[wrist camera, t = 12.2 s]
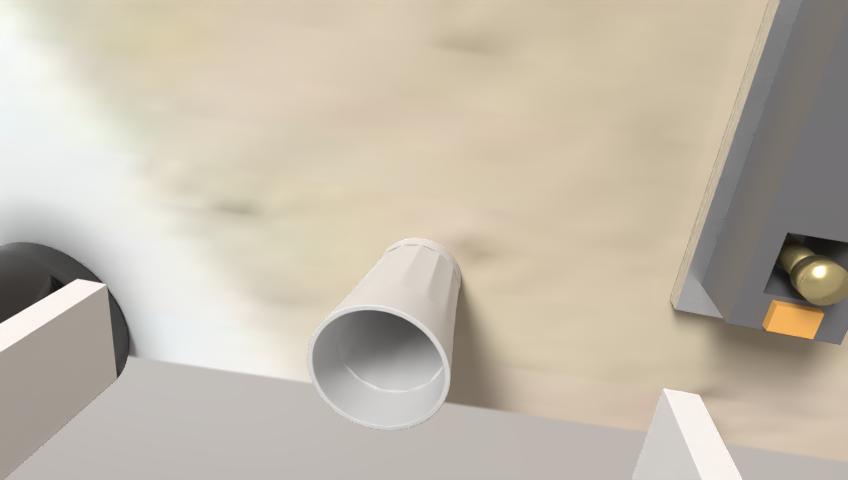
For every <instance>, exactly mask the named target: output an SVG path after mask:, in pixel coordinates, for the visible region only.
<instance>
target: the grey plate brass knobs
mask: <svg viewBox="0 0 848 480" xmlns="http://www.w3.org/2000/svg"><path fill="white" fill-rule="evenodd" d="M801 2H802V0H769V2H768V5H767V8H766V11H765V14H764V17H763V20H762V23H761V26H760V29H759V32H758V35H757V38H756V41H755V44H754V47H753V50H752V53H751V56H750V59H749V62H748V65H747V68H746V71H745V74H744V77H743V80H742V83H741V86H740V89H739V92H738V95H737V98H736V101H735V104H734V107H733V110H732V113H731V116H730V120H729V123H728V126H727V129H726V132H725V135H724V138H723V141H722V144H721V147H720V150H719V153H718V156H717V159H716V162H715V165H714V168H713V171H712V174H711V177H710V180H709V183H708V186H707V189H706V192H705V195H704V198H703V201H702V204H701V207H700V210H699V213H698V216H697V219H696V222H695V225H694V228H693V231H692V234H691V237H690V240H689V243H688V246H687V249H686V252H685V255H684V258H683V261H682V264H681V267H680V270H679V273H678V276H677V279H676V282H675V285H674V288H673V291H672V294H671V297H670V300H671V302H672V304H673V306H674V308H675V309H676V310H681V311H686V312H692V313H697V314H702V315H708V316H713V317H718V318H723V317H722V316H721V314H720V313H719V311H718V309H717V308H716V306H715V305H714V303H713V302H712V300H711V299H710V297H709V296H708V294H707V293H706V291H705V290H704V288H703V287H702V282H703V279H704V276H705V273H706V271H707V268H708V265H709V262H710V259H711V256H712V254H713V251H714V248H715V245H716V242H717V239H718V237H719V234H720V231H721V228H722V225H723V222H724V220H725V217H726V214H727V211H728V208H729V205H730V203H731V200H732V197H733V194H734V191H735V188H736V186H737V183H738V180H739V177H740V174H741V171H742V169H743V166H744V163H745V160H746V157H747V154H748V152H749V149H750V146H751V143H752V140H753V137H754V135H755V132H756V129H757V126H758V123H759V120H760V118H761V115H762V112H763V109H764V106H765V103H766V101H767V98H768V95H769V92H770V89H771V87H772V84H773V81H774V78H775V75H776V72H777V70H778V67H779V64H780V61H781V58H782V55H783V53H784V50H785V47H786V44H787V41H788V38H789V36H790V33H791V30H792V27H793V24H794V21H795V19H796V16H797V13H798V10H799V7H800V4H801ZM805 237H806V235H801V234H795V233H789V232H787V235H786V237H785V240H784V242H783V245H782V247H781V250H780V252H779V255H778V257H777V260H776V262H775V265H777V266H782V267H783V268H784V269H785V270H786V271H787V272H788V273H789V274H790V281H791V283H792V285H793V286H794V287H795V288H796V289H797V290H798V291H799V292H800V293H801V294H802V295H803V296H804V297H805V298H806V299H807V300H808V301H809V302H811V303H813V304H815V305H821V306H825V305H832V304H835V303H837V302H839V301H841V300H842V299H844V298H845V297H846V296H847V295H848V272H847V271H846V270H845V269H844V268H842V267H841V266H840V265H838V264H837V263H836V262H835V261H833V260H832V259H831V258H829V257H827V256H824V255H816V254H814V253H813V252H812V251H811V250H809V249H808V248H807V247H806V246H804V245H803V242H804V240H805Z"/></svg>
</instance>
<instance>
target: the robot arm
mask: <svg viewBox="0 0 848 480" xmlns="http://www.w3.org/2000/svg"><path fill="white" fill-rule="evenodd" d="M128 347H129V344H128V334H127V329H126V325H125V322H124V319H123V316H122V314H121V312H120V310H119V308H118V306H117V304H116V302H115V301H114V299H113V297H112V296H111V294H110V293H109V292H108V289H107V284H103V283H101V282H100V281H99V280H98V279H97V277H96V276H94V275H93V274H92V273H91V272H90V271H89V270H88V269H87V268H86V267H84V266H83V265H82V264H80V263H79V262H77V261H76V260H74V259H73V258H71V257H70V256H68V255H66V254H64V253H62V252H60V251H58V250H55V249H53V248H50V247H47V246H44V245H40V244H34V243H21V242H20V243H11V244H7V245H3V246H1V247H0V480H4V479H5V478H6V477H7V476H8V475H10V474H11V473H12V472H13V471H14V470H15V469H16V468H18V467H19V466H20V465H21V464H22V463H23V462H24V461H25V460H26V459H28V458H29V457H30V456H31V455H32V454H33V453H34V452H35V451H37V450H38V449H39V448H40V447H41V446H42V445H43V444H44V443H46V442H47V441H48V440H49V439H50V438H51V437H52V436H53V435H54V434H55V433H57V432H58V431H59V430H60V429H61V428H62V427H63V426H65V425H66V424H67V423H68V422H69V421H70V420H71V419H72V418H74V417H75V416H76V415H77V414H78V413H79V412H80V411H81V410H82V409H83V408H85V407H86V406H87V405H88V404H89V403H90V402H91V401H93V400H94V399H95V398H96V397H97V396H98V395H99V394H100V393H102V392H103V391H104V390H105V389H106V388H107V387H108V386H109V385H111V384H112V383H113V382H114V381H115V380H116V379H117V378H118V377H119V376H120V374H121V372H122V371H123V369H124V367H125V364H126V361H127V357H128ZM631 480H742V478H741V476H740V474H739V472H738V470H737V468H736V466H735V464H734V462H733V460H732V458H731V456H730V455H729V452H728V451H727V449H726V447H725V445H724V443H723V441H722V439H721V437H720V435H719V433H718V431H717V429H716V427H715V425H714V423H713V421H712V419H711V417H710V415H709V413H708V411H707V410H706V408H705V406H704V404H703V402H702V400H701V398H700V396H699V395H697V394H692V393H686V392H681V391H676V390H670V389H665V388H663V390H662V393H661V396H660V399H659V402H658V404H657V407H656V410H655V413H654V416H653V419H652V422H651V425H650V427H649V430H648V433H647V436H646V439H645V442H644V445H643V448H642V451H641V453H640V456H639V459H638V462H637V465H636V468H635V471H634V474H633V477H632V479H631Z"/></svg>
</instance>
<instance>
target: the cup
mask: <svg viewBox="0 0 848 480" xmlns="http://www.w3.org/2000/svg"><path fill="white" fill-rule="evenodd" d="M460 286H461V274H460V269H459V266H458V264H457V262H456V260H455V259H454V257H453V256H452V255H451V253H450V252H449V251H448V250H447V249H445V248H444V247H443V246H441V245H440V244H438V243H436V242H434V241H431V240H428V239H424V238H407V239H403V240H400V241H398V242H396V243H394V244H393V245H391V246H390V247H389V248H388V249H387V250H386V251H385V252H384V253H383V255H382V256H381V258H380V260H379V261H378V262H377V263H376V264H375V266H374V267H373V268H372V269H371V270H370V271H369V272H368V273H367V275H366V276H365V277H364V278H363V279H362V280H361V281H360V282H359V283H358V285H357V286H356V287H355V288H354V289H353V290H352V291H351V292H350V294H349V295H348V296H347V297H346V298H345V299H344V300H343V301H342V302H341V303H340V304H339V305H338V306H337V307H336V308H335V309H334V310H333V311H332V312H331V313H330V314H329V315H328V316H327V318H326V319H325V320H324V321H323V322H322V323H321V324H320V325H319V326H318V328H317V329H316V330H315V332H314V334H313V336H312V338H311V341H310V344H309V348H308V357H307V360H308V369H309V373H310V376H311V379H312V382H313V384H314V386H315V388H316V389H317V391H318V393H319V394H320V396H321V397H322V398H323V399H324V401H325V402H326V403H327V404H328V405H329V406H330V407H331V408H332V409H334V410H335V411H336V412H337V413H339V414H340V415H341V416H343V417H345V418H346V419H348V420H350V421H352V422H354V423H356V424H359V425H361V426H364V427H368V428H372V429H377V430H402V429H407V428H411V427H414V426H416V425H419V424H421V423H423V422H424V421H426V420H427V419H429V418H430V417H432V416H433V415H434V414H435V413H436V412H437V411H438V410H439V409H440V407H441V406H442V405H443V403H444V401H445V399H446V397H447V395H448V392H449V388H450V381H451V368H452V355H453V337H454V327H455V318H456V308H457V299H458V294H459V290H460Z"/></svg>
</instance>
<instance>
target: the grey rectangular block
mask: <svg viewBox="0 0 848 480" xmlns="http://www.w3.org/2000/svg"><path fill="white" fill-rule="evenodd" d="M787 232H789V233H795V234H801V235H806V237H805V240H804V242H803V245H804V246H806V247H807V248H808V249H809V250H811V251H812V252H813V253H814V254H816V255H824V256H827V257H829V258H831V259H832V260H833V261H835V262H836V263H837V264H838V265H840V266H841V267H842V268H844V269H845V270H846V271H847V272H848V0H802V2H801V4H800V7H799V10H798V13H797V16H796V19H795V21H794V24H793V27H792V30H791V33H790V36H789V38H788V41H787V44H786V47H785V50H784V53H783V55H782V58H781V61H780V64H779V67H778V70H777V72H776V75H775V78H774V81H773V84H772V87H771V89H770V92H769V95H768V98H767V101H766V103H765V106H764V109H763V112H762V115H761V118H760V120H759V123H758V126H757V129H756V132H755V135H754V137H753V140H752V143H751V146H750V149H749V152H748V154H747V157H746V160H745V163H744V166H743V169H742V171H741V174H740V177H739V180H738V183H737V186H736V188H735V191H734V194H733V197H732V200H731V203H730V205H729V208H728V211H727V214H726V217H725V220H724V222H723V225H722V228H721V231H720V234H719V237H718V239H717V242H716V245H715V248H714V251H713V254H712V256H711V259H710V262H709V265H708V268H707V271H706V273H705V276H704V279H703V282H702V287H703V288H704V290H705V291H706V293H707V294H708V296H709V297H710V299H711V300H712V302H713V303H714V305H715V306H716V308H717V309H718V311H719V313H720V314H721V316H722V317H723V319H724V320H725V322H726V323H727V324H732V325H738V326H743V327H748V328H754V329H759V330H764V331H769V332H775V333H780V334H785V335H791V336H796V337H801V338H807V339H812V340H817V341H823V342H828V343H833V344H839V345H841V342H842V340H843V338H844V336H845V334H846V332H847V330H848V295H847V296H846V297H845V298H844V299H842V300H841V301H839V302H837V303H835V304H832V305H825V306H821V305H815V304H813V303H811V302H809V301H808V300H807V299H806V298H805V297H804V296H803V295H802V294H801V293H800V292H799V291H798V290H797V289H796V288H795V287H794V286H793V285H792V283H791V281H790V274H789V273H788V272H787V271H786V270H785V269H784V268H783V267H782V266H777V265H775V262H776V260H777V257H778V255H779V252H780V250H781V247H782V245H783V242H784V240H785V237H786V235H787Z"/></svg>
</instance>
